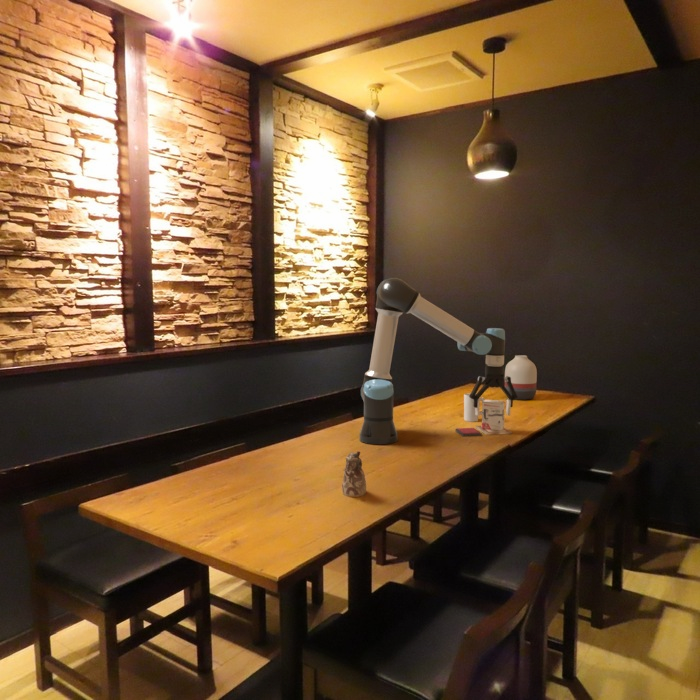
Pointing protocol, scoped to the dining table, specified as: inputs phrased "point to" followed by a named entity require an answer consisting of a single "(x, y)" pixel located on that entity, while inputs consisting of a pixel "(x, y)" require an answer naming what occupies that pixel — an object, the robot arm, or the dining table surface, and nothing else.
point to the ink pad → (468, 432)
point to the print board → (493, 431)
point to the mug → (470, 408)
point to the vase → (522, 377)
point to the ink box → (493, 414)
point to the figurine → (354, 476)
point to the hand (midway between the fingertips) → (492, 415)
